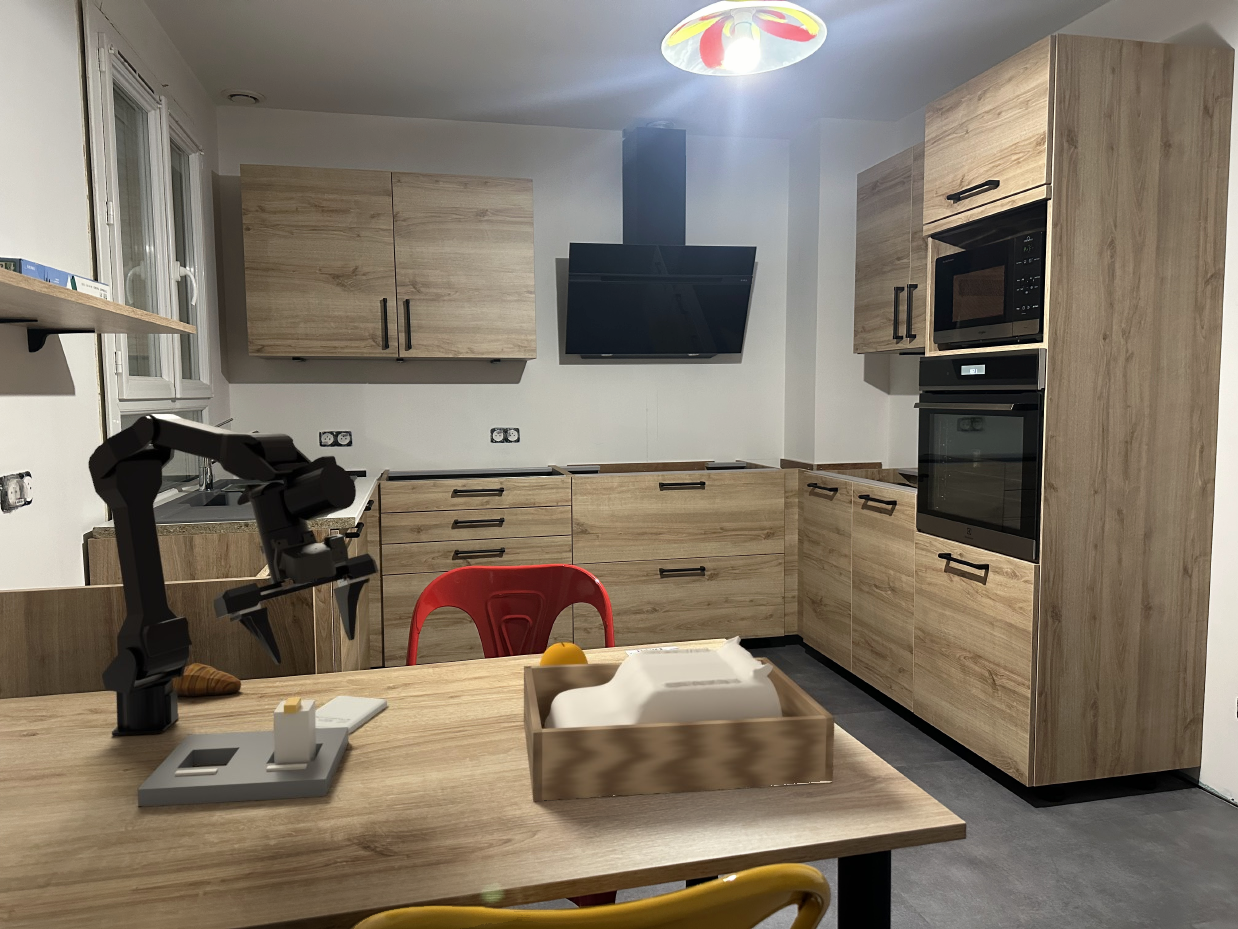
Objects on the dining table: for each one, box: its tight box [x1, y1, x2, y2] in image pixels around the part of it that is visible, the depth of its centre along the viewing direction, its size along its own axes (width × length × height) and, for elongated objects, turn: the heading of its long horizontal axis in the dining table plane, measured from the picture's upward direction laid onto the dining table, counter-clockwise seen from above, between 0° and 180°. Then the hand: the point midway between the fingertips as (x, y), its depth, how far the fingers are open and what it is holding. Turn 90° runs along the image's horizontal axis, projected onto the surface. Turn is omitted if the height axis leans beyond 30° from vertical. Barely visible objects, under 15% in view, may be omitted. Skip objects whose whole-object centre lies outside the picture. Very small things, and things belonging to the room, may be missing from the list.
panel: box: [137, 727, 349, 807], centre depth 102 cm, size 20×16×2 cm
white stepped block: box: [544, 635, 782, 729], centre depth 110 cm, size 19×30×13 cm, turn 100°
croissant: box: [173, 662, 242, 697], centre depth 130 cm, size 14×7×5 cm, turn 93°
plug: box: [273, 696, 316, 763], centre depth 102 cm, size 4×5×9 cm
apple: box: [539, 642, 589, 666], centre depth 134 cm, size 8×8×8 cm
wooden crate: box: [523, 657, 836, 802], centre depth 110 cm, size 36×25×8 cm
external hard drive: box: [315, 695, 388, 735], centre depth 120 cm, size 2×8×12 cm
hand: (316, 651), depth 103 cm, fingers open, 9 cm apart
